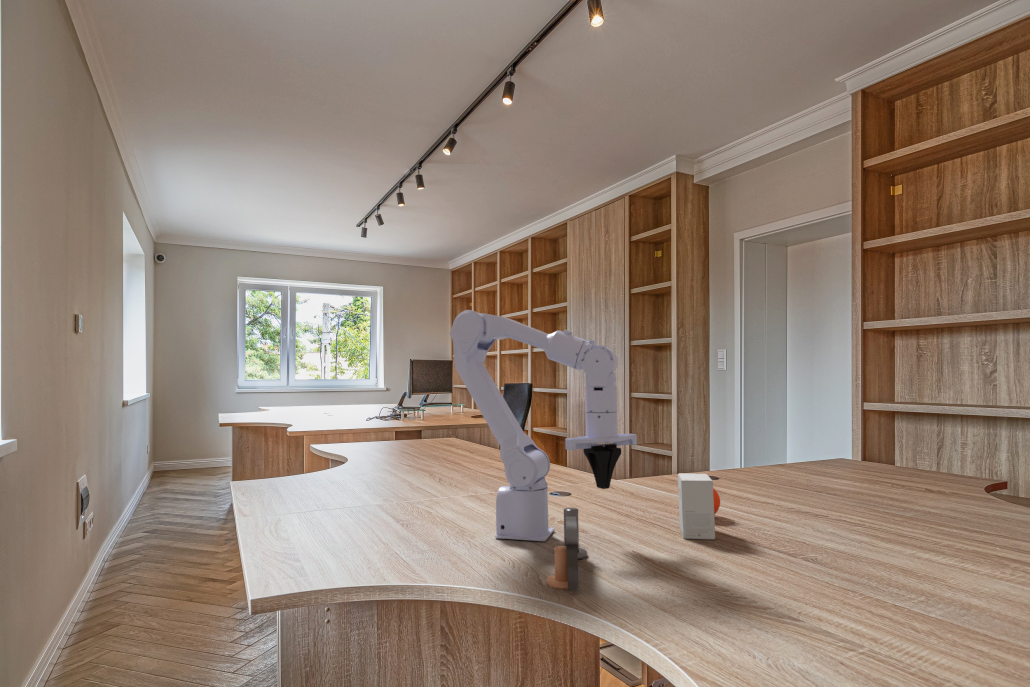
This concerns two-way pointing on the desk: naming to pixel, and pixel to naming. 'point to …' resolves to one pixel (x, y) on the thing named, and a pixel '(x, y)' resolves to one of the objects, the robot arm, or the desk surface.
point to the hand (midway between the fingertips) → (603, 487)
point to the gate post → (574, 513)
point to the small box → (696, 506)
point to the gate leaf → (572, 553)
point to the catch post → (559, 570)
